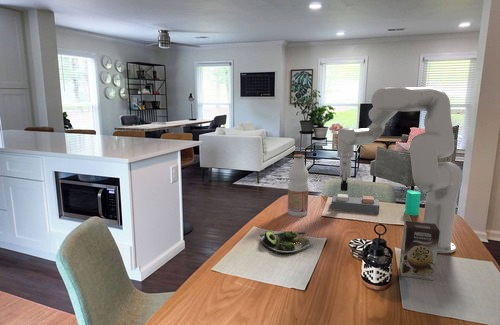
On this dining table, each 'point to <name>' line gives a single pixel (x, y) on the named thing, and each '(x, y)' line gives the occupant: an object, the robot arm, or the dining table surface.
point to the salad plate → (284, 242)
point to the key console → (355, 205)
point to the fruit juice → (298, 188)
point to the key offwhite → (342, 197)
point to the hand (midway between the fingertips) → (344, 190)
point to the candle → (412, 202)
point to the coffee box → (419, 250)
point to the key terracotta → (368, 199)
